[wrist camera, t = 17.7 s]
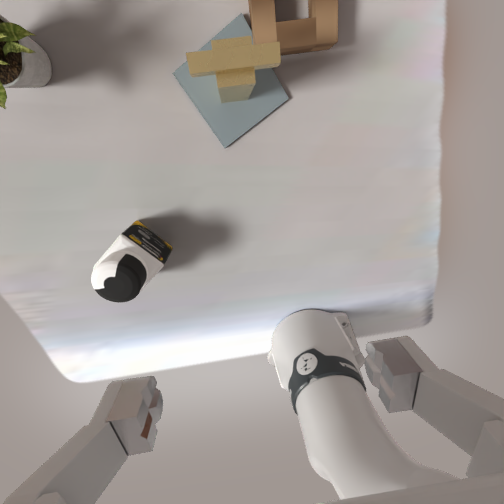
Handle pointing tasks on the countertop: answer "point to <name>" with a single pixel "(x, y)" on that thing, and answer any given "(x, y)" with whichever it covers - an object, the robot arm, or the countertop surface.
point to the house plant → (20, 60)
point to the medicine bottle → (129, 263)
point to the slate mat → (239, 112)
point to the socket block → (295, 27)
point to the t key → (234, 65)
